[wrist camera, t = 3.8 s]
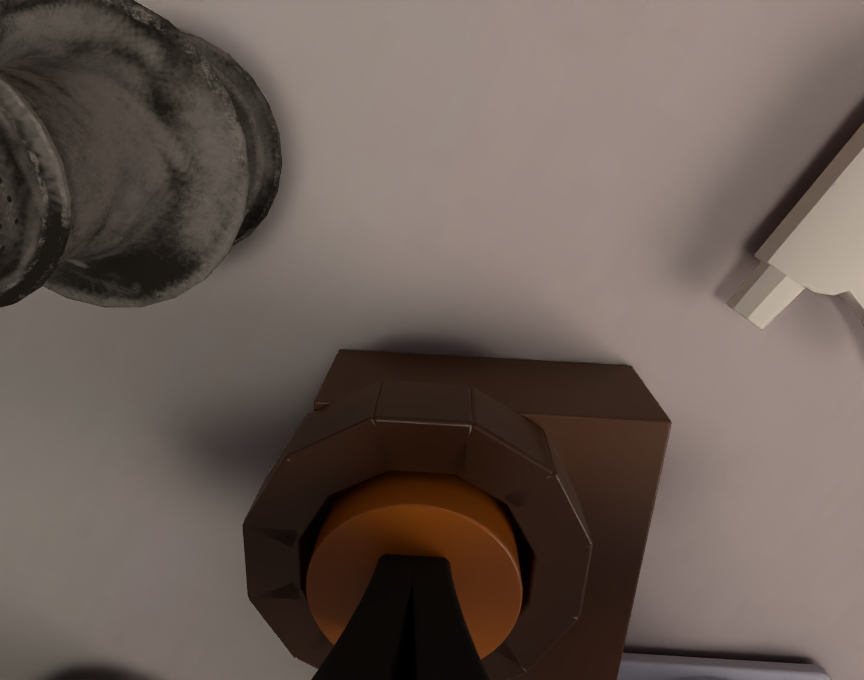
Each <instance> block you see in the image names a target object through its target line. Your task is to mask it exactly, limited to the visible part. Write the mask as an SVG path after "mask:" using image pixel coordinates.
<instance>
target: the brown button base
mask: <svg viewBox="0 0 864 680" xmlns="http://www.w3.org/2000/svg"><path fill="white" fill-rule="evenodd" d="M670 428H671V420H670V419H669V418H668V416H667V415H666V413H665V412H664V411H663V409H662V408H661V406H660V405H659V404H658V402H657V401H656V399H655V398H654V397H653V395H652V394H651V393H650V391H649V390H648V388H647V387H646V386H645V384H644V383H643V381H642V380H641V379H640V377H639V376H638V374H637V373H636V372H635V370H634V369H633V367H631V366H618V365H600V364H582V363H564V362H547V361H529V360H511V359H494V358H476V357H458V356H440V355H423V354H405V353H387V352H369V351H352V350H339V351H338V353H337V355H336V357H335V360H334V362H333V364H332V366H331V368H330V370H329V372H328V374H327V376H326V378H325V380H324V383H323V385H322V387H321V389H320V391H319V393H318V395H317V397H316V399H315V401H314V411H313V412H311V413H309V414H307V416H306V417H304V418H303V420H302V422H301V423H300V425H299V426H298V428H297V429H296V431H295V433H294V434H293V436H292V437H291V439H290V440H289V442H288V443H287V445H286V447H285V448H284V450H283V451H282V453H281V454H280V456H279V458H278V459H277V461H276V462H275V464H274V465H273V467H272V468H271V470H270V472H269V473H268V475H267V476H266V478H265V480H264V482H263V484H262V486H261V488H260V490H259V492H258V494H257V496H256V498H255V500H254V502H253V504H252V506H251V508H250V510H249V512H248V514H247V516H246V517H245V519H244V523H243V537H244V550H245V564H246V577H247V590H248V597H249V600H250V601H251V602H252V604H253V605H254V606H255V607H256V609H257V610H258V611H259V613H260V614H261V615H262V617H263V618H264V619H265V620H266V622H267V623H268V624H269V626H270V627H271V628H272V629H273V631H274V632H275V633H276V635H277V636H278V637H279V638H280V640H281V641H282V642H283V644H284V645H285V646H286V648H287V649H288V650H289V651H290V653H291V654H292V655H293V657H295V658H296V657H297V658H298V659H299V660H301V661H303V662H305V663H307V664H309V665H311V666H313V667H315V668H317V669H319V668H320V666H321V665H322V663H323V662H324V660H325V659H326V657H327V656H328V654H329V653H330V651H331V650H332V648H333V647H334V644H333V643H331V642H330V641H329V640H328V638H327V637H326V636H325V635H324V634H323V633H322V631H321V630H320V628H319V627H318V625H317V624H316V622H315V620H314V618H313V616H312V613H311V611H310V608H309V604H308V600H307V594H306V576H307V571H308V567H309V563H310V560H311V557H312V554H313V551H314V547H315V544H316V541H317V538H318V535H319V532H320V528H321V525H322V522H323V519H324V516H325V513H326V510H327V506H328V503H329V500H330V497H331V495H333V494H335V493H337V492H340V491H342V490H344V489H347V488H349V487H351V486H353V485H356V484H358V483H360V482H363V481H365V480H367V479H370V478H372V477H374V476H377V475H379V474H381V473H384V472H386V471H388V470H392V471H410V472H427V473H444V474H455V475H456V476H458V477H460V478H462V479H463V480H465V481H467V482H469V483H470V484H472V485H474V486H476V487H477V488H479V489H481V490H483V491H484V492H486V493H488V494H490V495H491V496H493V497H495V498H497V499H498V500H500V501H502V502H504V503H505V504H507V505H508V507H509V509H510V511H511V513H512V519H513V526H514V532H515V539H516V546H517V552H518V559H519V566H520V572H521V579H522V587H523V596H522V604H521V609H520V613H519V615H518V618H517V621H516V623H515V625H514V627H513V628H512V630H511V632H510V634H509V635H508V636H507V637H506V638H505V640H504V641H503V642H502V643H501V644H500V645H499V646H498V647H497V648H496V649H495V650H494V651H493V652H491V653H490V654H488V655H487V656H486V657H484V658H483V659H481V662H482V664H483V666H484V668H485V671H486V673H487V675H488V677H489V679H490V680H617V677H618V672H619V668H620V663H621V658H622V653H623V649H624V644H625V639H626V635H627V630H628V625H629V621H630V616H631V611H632V607H633V602H634V597H635V592H636V588H637V583H638V578H639V574H640V569H641V564H642V560H643V555H644V550H645V546H646V541H647V536H648V531H649V527H650V522H651V517H652V513H653V508H654V503H655V499H656V494H657V489H658V485H659V480H660V475H661V470H662V466H663V461H664V456H665V452H666V447H667V442H668V438H669V433H670Z"/></svg>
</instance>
